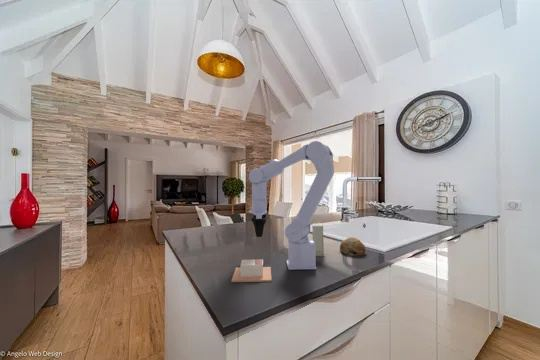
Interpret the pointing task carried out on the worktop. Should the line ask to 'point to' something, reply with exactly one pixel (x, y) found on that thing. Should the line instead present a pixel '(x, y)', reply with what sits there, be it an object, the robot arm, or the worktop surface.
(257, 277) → the mat
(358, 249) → the brown rounded lump
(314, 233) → the skincare box
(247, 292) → the worktop surface
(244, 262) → the card box
